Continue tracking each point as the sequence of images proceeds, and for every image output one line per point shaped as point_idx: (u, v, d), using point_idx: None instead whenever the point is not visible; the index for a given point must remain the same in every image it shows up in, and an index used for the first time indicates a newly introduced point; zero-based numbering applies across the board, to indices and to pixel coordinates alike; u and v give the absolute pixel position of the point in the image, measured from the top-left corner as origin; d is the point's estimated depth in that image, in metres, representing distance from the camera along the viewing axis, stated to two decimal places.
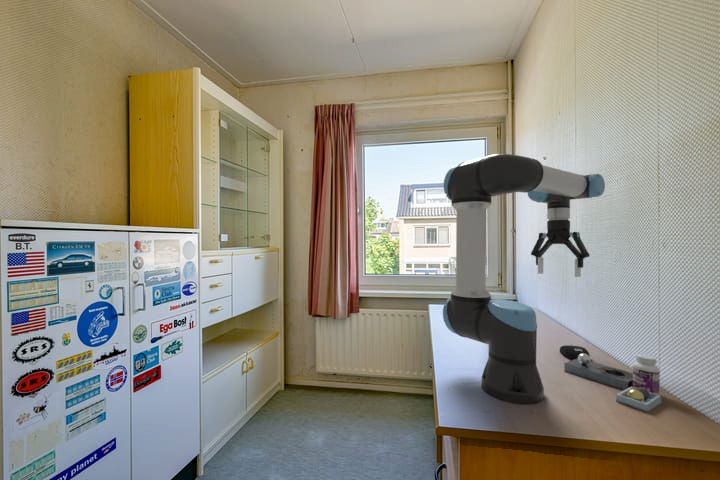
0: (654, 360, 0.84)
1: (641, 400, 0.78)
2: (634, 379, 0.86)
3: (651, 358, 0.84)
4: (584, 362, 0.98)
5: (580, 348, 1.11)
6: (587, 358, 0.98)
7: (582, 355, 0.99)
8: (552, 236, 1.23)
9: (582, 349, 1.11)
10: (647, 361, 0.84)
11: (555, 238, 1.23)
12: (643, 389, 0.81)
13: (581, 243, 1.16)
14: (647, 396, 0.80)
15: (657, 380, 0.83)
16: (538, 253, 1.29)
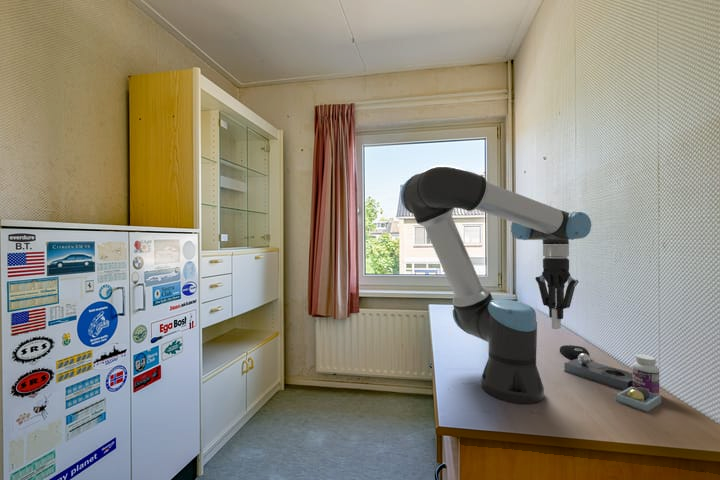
0: (653, 360, 0.83)
1: (641, 400, 0.78)
2: (633, 379, 0.86)
3: (650, 358, 0.84)
4: (584, 362, 0.98)
5: (580, 348, 1.11)
6: (587, 358, 0.98)
7: (582, 355, 0.99)
8: (549, 276, 1.07)
9: (582, 349, 1.11)
10: (646, 362, 0.84)
11: (552, 279, 1.07)
12: (643, 389, 0.81)
13: (571, 293, 1.03)
14: (647, 396, 0.80)
15: (656, 380, 0.83)
16: (550, 302, 1.07)
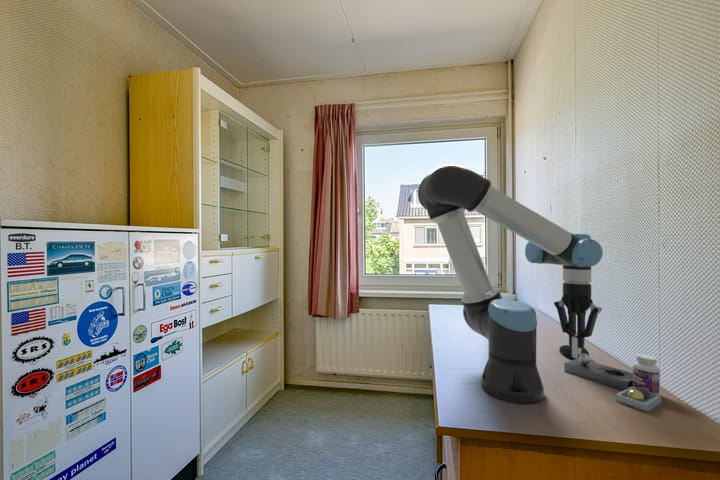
0: (654, 360, 0.84)
1: (641, 400, 0.78)
2: (634, 379, 0.86)
3: (651, 358, 0.84)
4: (584, 362, 0.98)
5: None
6: (588, 358, 0.98)
7: (583, 355, 0.99)
8: (569, 302, 1.01)
9: (582, 349, 1.11)
10: (647, 362, 0.84)
11: (573, 305, 1.01)
12: (643, 389, 0.81)
13: (593, 322, 0.97)
14: (647, 396, 0.80)
15: (657, 380, 0.83)
16: (570, 330, 1.02)
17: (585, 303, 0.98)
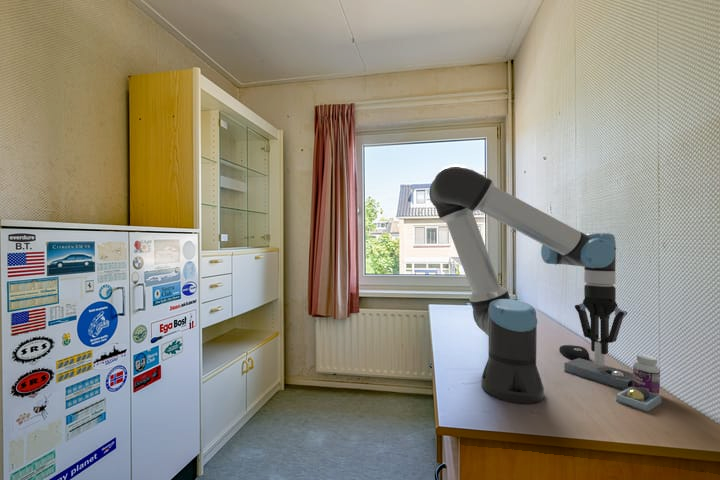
0: (654, 361, 0.83)
1: (641, 400, 0.78)
2: (634, 379, 0.86)
3: (651, 359, 0.84)
4: None
5: (580, 348, 1.12)
6: (618, 373, 0.91)
7: (612, 373, 0.92)
8: (592, 305, 0.96)
9: (582, 349, 1.11)
10: (647, 362, 0.84)
11: (596, 308, 0.96)
12: (643, 389, 0.81)
13: (618, 326, 0.92)
14: (647, 396, 0.80)
15: (657, 381, 0.83)
16: (592, 335, 0.96)
17: (609, 306, 0.93)
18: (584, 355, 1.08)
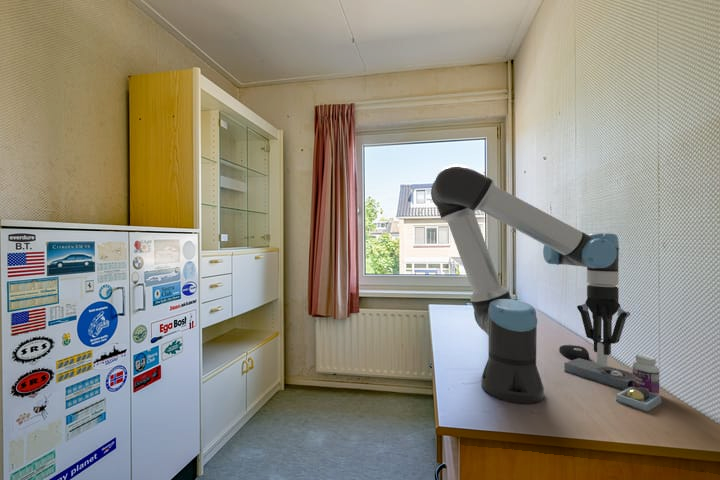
0: (653, 360, 0.83)
1: (641, 400, 0.78)
2: (633, 379, 0.86)
3: (650, 358, 0.84)
4: None
5: (579, 348, 1.12)
6: (616, 372, 0.92)
7: (611, 373, 0.92)
8: (594, 306, 0.95)
9: (581, 349, 1.11)
10: (646, 362, 0.84)
11: (598, 309, 0.95)
12: (643, 389, 0.81)
13: (621, 327, 0.91)
14: (647, 396, 0.80)
15: (656, 380, 0.83)
16: (595, 335, 0.96)
17: (612, 307, 0.92)
18: (584, 355, 1.08)
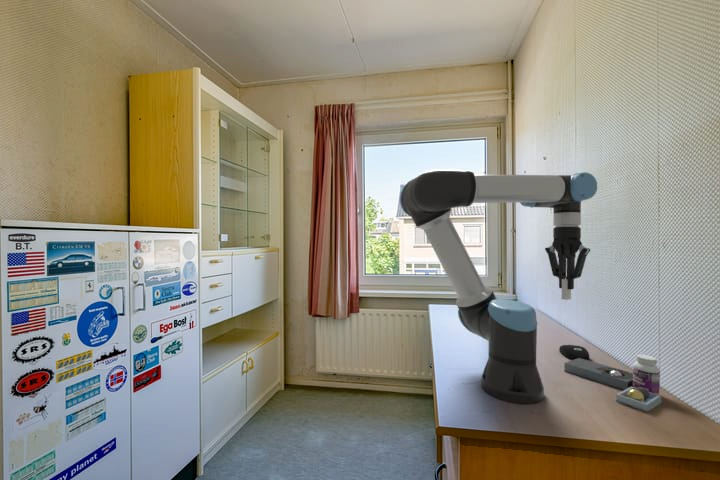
0: (654, 361, 0.83)
1: (641, 400, 0.78)
2: (634, 379, 0.86)
3: (651, 359, 0.84)
4: None
5: (580, 347, 1.12)
6: (614, 371, 0.92)
7: (609, 373, 0.93)
8: (559, 245, 1.04)
9: (582, 348, 1.11)
10: (646, 362, 0.84)
11: (563, 248, 1.04)
12: (643, 389, 0.81)
13: (582, 262, 1.00)
14: (647, 396, 0.80)
15: (656, 381, 0.83)
16: (560, 273, 1.05)
17: (574, 245, 1.01)
18: (584, 355, 1.08)
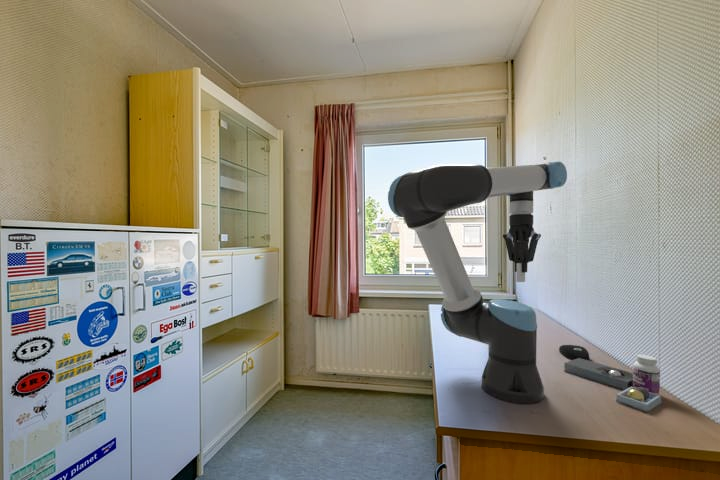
0: (654, 360, 0.83)
1: (641, 400, 0.78)
2: (634, 379, 0.86)
3: (651, 358, 0.84)
4: None
5: (579, 347, 1.12)
6: (613, 371, 0.92)
7: (608, 373, 0.93)
8: (514, 232, 1.12)
9: (581, 348, 1.11)
10: (646, 362, 0.84)
11: (517, 234, 1.12)
12: (643, 389, 0.81)
13: (534, 247, 1.08)
14: (647, 396, 0.80)
15: (656, 380, 0.83)
16: (515, 257, 1.12)
17: (527, 231, 1.09)
18: (584, 355, 1.09)
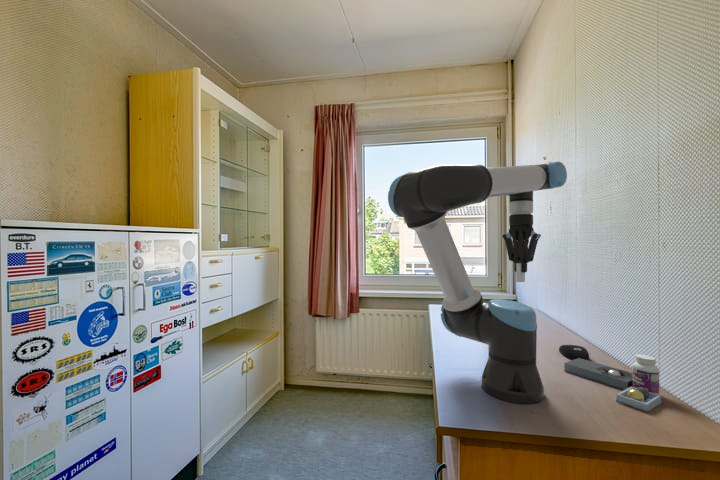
0: (653, 360, 0.83)
1: (641, 400, 0.78)
2: (633, 379, 0.86)
3: (650, 358, 0.84)
4: None
5: (579, 347, 1.12)
6: (611, 371, 0.93)
7: None
8: (514, 232, 1.12)
9: (581, 348, 1.11)
10: (645, 362, 0.84)
11: (517, 234, 1.12)
12: (643, 389, 0.81)
13: (534, 247, 1.08)
14: (647, 396, 0.80)
15: (656, 380, 0.83)
16: (515, 257, 1.12)
17: (527, 231, 1.09)
18: (584, 354, 1.09)
